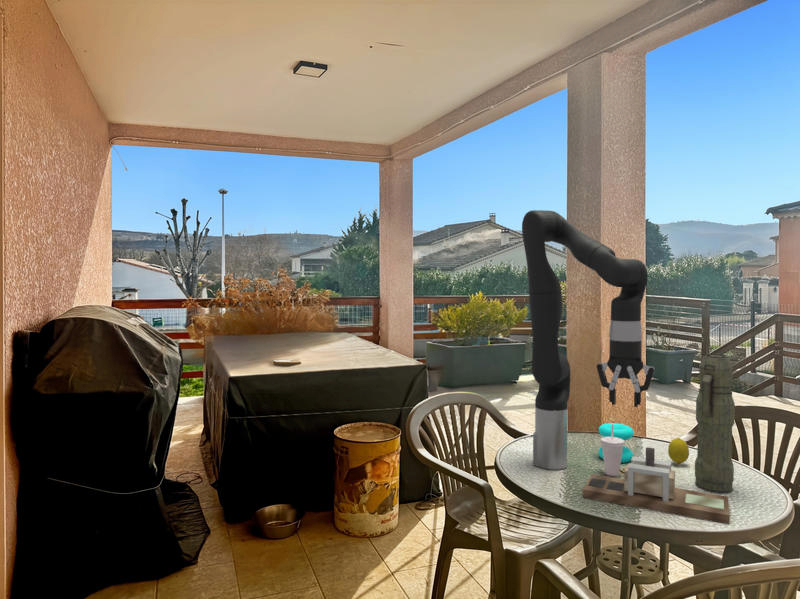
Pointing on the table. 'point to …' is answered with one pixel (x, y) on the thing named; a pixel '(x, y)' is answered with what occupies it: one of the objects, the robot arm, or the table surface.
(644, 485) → the block
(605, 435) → the donuts
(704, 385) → the green stone statue
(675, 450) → the lemon
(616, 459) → the smoothie
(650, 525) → the table surface
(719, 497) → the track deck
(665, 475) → the tunnel
